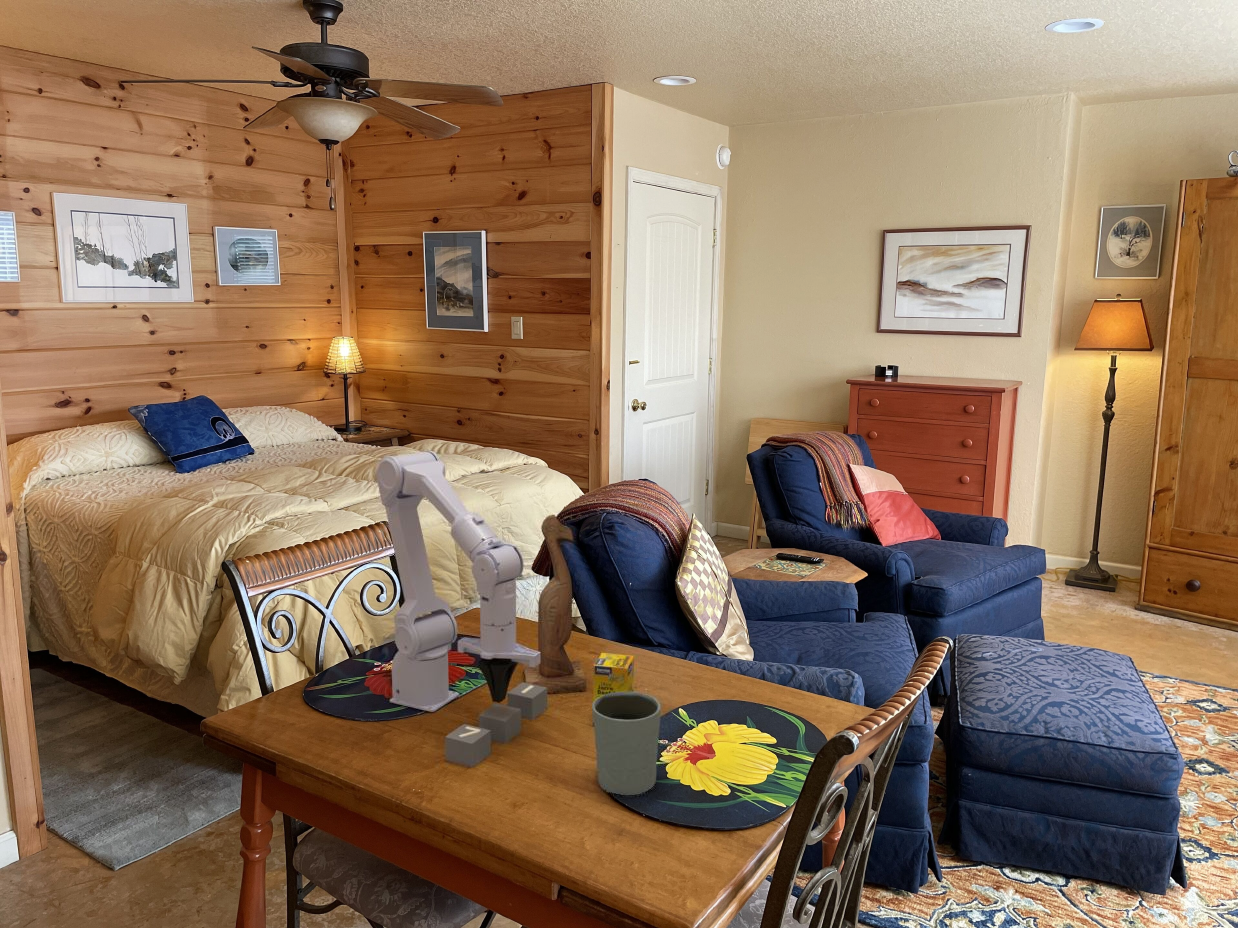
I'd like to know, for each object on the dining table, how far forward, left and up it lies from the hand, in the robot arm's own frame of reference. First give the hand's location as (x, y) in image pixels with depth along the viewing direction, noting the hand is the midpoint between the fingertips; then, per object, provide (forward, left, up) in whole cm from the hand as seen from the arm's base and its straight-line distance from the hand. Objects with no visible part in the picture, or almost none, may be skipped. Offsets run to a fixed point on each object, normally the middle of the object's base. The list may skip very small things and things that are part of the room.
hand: (499, 699), depth 150 cm
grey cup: (+25, -5, -6) cm, 26 cm away
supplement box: (+15, +12, -6) cm, 20 cm away
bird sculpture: (-2, +22, -6) cm, 23 cm away
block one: (0, +9, -6) cm, 11 cm away
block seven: (0, -9, -6) cm, 11 cm away
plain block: (0, 0, -6) cm, 6 cm away
